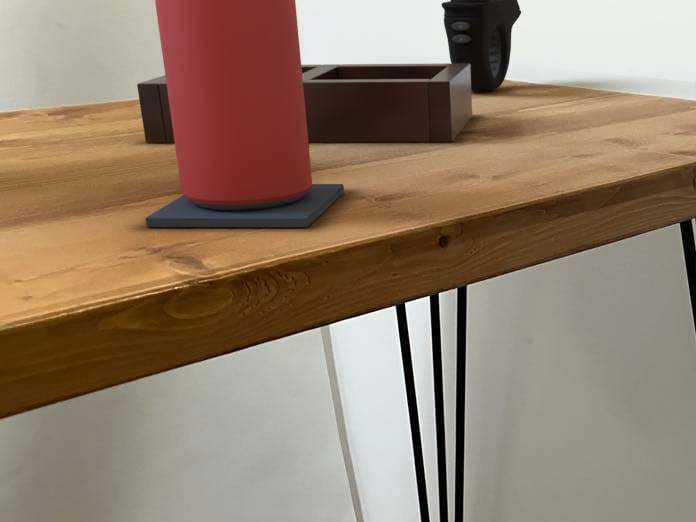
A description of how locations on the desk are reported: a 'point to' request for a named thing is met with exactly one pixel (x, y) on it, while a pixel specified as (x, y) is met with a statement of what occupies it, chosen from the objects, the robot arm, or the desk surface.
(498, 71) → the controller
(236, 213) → the coaster
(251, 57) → the beer can
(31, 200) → the desk surface
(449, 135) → the divided wooden tray
